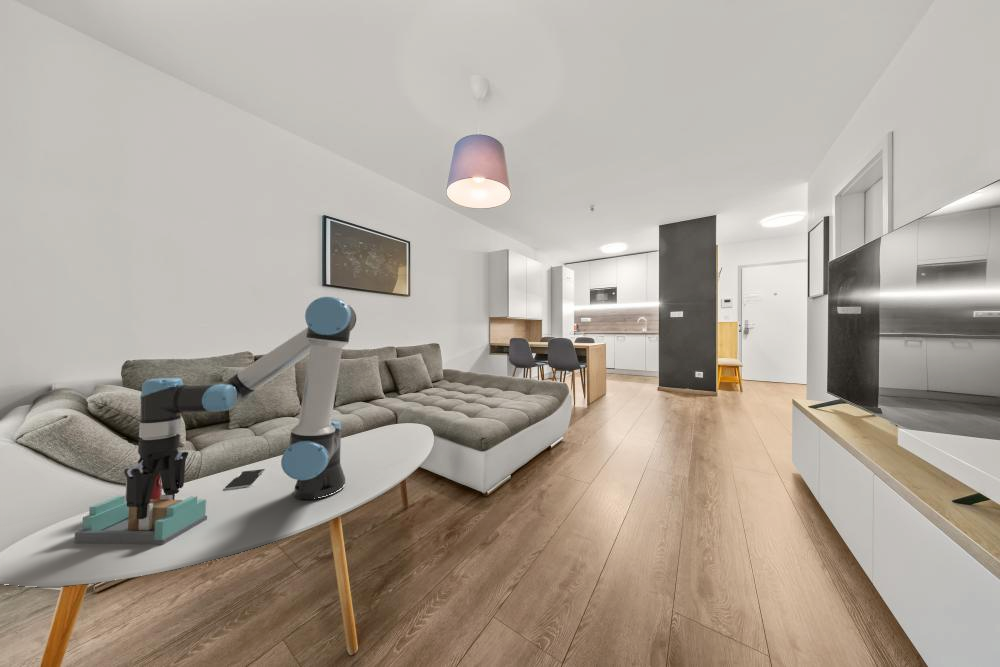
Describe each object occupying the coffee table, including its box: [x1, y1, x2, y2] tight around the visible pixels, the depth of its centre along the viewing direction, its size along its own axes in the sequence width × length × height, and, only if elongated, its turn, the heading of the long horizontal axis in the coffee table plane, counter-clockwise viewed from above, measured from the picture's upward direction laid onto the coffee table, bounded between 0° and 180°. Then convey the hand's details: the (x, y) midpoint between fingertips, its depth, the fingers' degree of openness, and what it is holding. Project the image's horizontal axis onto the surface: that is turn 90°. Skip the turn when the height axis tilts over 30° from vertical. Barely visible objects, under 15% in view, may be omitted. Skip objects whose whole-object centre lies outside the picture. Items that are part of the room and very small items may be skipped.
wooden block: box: [128, 499, 183, 531], centre depth 82 cm, size 10×4×6 cm, turn 89°
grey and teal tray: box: [74, 496, 208, 545], centre depth 82 cm, size 23×11×8 cm, turn 89°
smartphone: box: [224, 468, 266, 491], centre depth 113 cm, size 8×1×15 cm
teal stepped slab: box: [81, 495, 129, 530], centre depth 83 cm, size 2×8×6 cm, turn 179°
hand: (155, 524), depth 82 cm, fingers closed on wooden block, 4 cm apart
